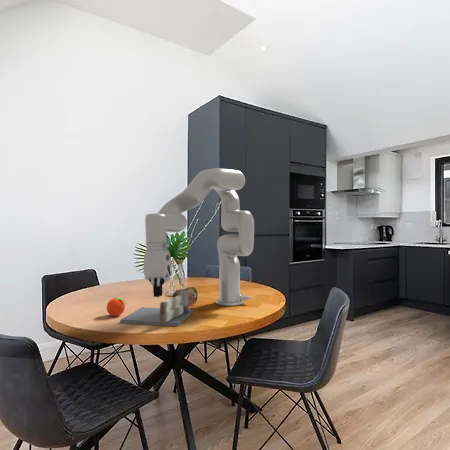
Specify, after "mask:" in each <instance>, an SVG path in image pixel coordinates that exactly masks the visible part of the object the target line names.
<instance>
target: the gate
mask: <svg viewBox="0 0 450 450" xmlns="http://www.w3.org/2000/svg"><path fill="white" fill-rule="evenodd" d="M159 308H160V323H166V322H167V321H169V320H171V319H173V318H175V317H177V316H179V315H181V314H182V313H184V295H179V296H176V297H174V298H169V299H167V300H165V301H161V302H159Z"/></svg>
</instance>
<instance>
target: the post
mask: <svg viewBox="0 0 450 450" xmlns="http://www.w3.org/2000/svg"><path fill="white" fill-rule="evenodd" d="M181 295H184V313H183V314H186V313H188V310H189V307H188V291H181Z"/></svg>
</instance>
